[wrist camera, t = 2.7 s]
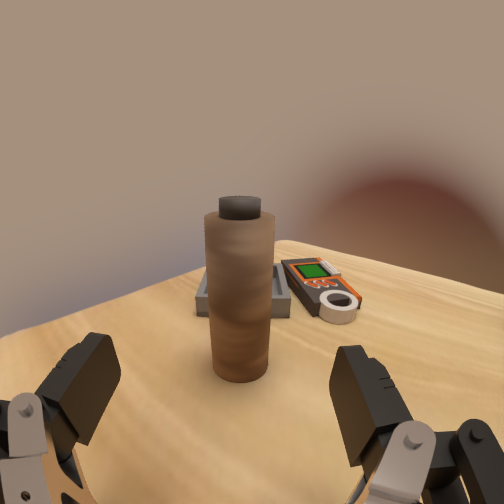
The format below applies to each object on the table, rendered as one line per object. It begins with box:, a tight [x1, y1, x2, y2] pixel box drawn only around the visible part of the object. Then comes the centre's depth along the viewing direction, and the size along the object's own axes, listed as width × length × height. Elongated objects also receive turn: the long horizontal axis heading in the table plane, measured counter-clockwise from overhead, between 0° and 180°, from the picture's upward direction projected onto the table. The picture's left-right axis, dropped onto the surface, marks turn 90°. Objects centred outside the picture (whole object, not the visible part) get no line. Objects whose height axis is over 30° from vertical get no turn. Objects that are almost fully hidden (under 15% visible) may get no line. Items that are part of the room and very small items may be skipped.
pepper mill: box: [204, 196, 275, 383], centre depth 20 cm, size 5×5×14 cm
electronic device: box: [281, 258, 362, 324], centre depth 35 cm, size 7×3×15 cm
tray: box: [195, 263, 291, 318], centre depth 35 cm, size 10×10×2 cm
